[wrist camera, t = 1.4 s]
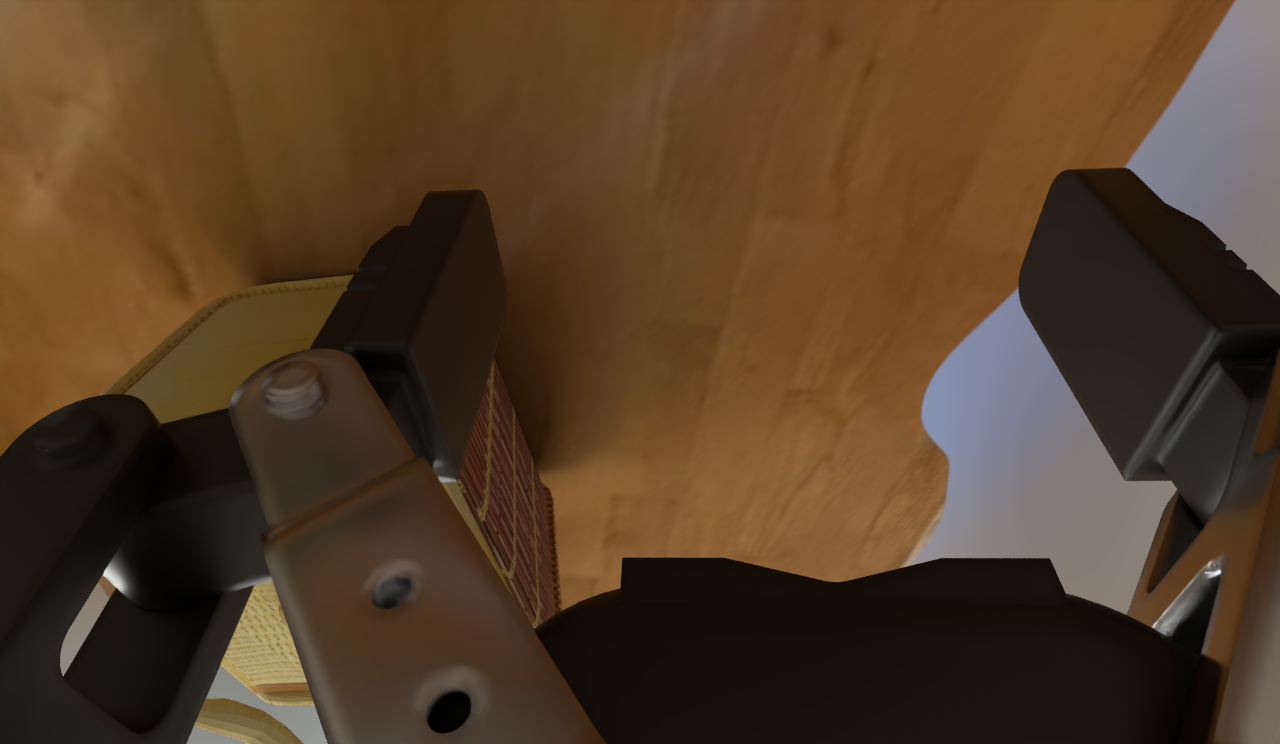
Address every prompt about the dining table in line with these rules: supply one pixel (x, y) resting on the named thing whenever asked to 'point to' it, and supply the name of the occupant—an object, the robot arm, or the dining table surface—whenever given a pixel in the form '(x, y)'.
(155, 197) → the dining table surface
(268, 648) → the picnic basket
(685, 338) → the dining table surface
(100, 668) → the robot arm
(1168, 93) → the dining table surface
